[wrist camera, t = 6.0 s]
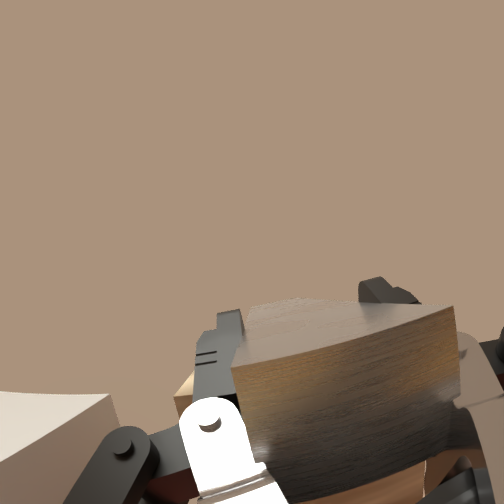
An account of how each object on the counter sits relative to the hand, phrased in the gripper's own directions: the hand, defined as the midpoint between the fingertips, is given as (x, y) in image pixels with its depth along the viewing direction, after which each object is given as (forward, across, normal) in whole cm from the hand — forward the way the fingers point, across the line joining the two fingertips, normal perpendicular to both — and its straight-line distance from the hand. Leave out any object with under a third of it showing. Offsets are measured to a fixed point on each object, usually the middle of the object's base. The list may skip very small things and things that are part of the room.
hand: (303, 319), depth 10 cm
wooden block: (+4, 0, +6) cm, 7 cm away
